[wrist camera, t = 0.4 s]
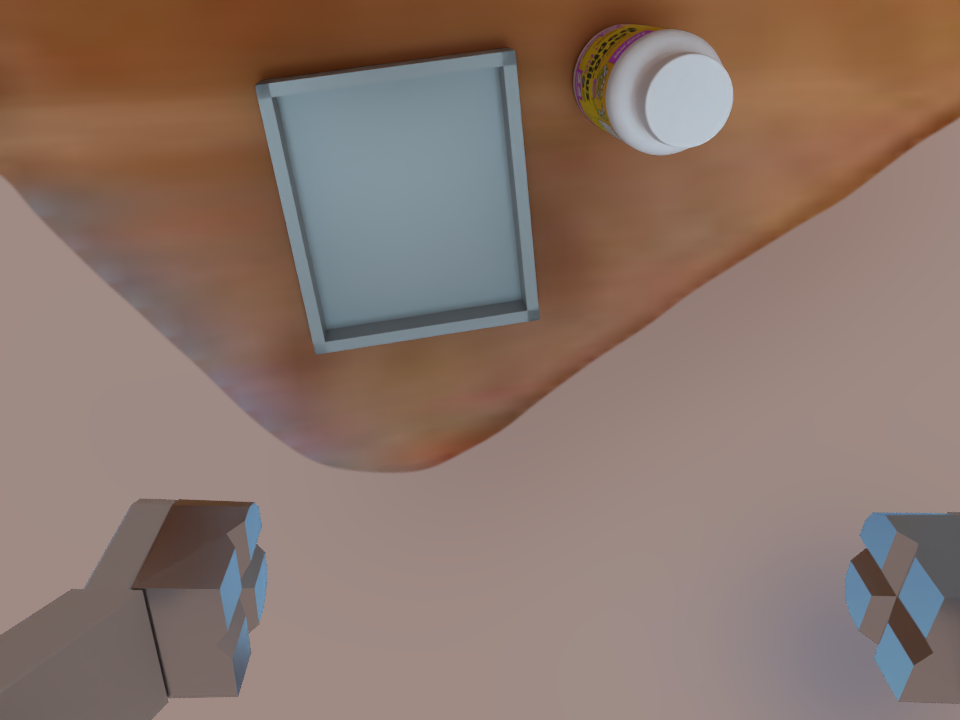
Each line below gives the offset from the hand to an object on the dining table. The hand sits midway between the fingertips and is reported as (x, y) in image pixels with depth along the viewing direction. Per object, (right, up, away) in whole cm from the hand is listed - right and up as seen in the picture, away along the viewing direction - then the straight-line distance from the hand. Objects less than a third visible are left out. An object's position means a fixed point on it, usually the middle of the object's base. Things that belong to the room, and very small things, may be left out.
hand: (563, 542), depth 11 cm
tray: (-6, +13, +43) cm, 45 cm away
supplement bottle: (+8, +21, +41) cm, 47 cm away
